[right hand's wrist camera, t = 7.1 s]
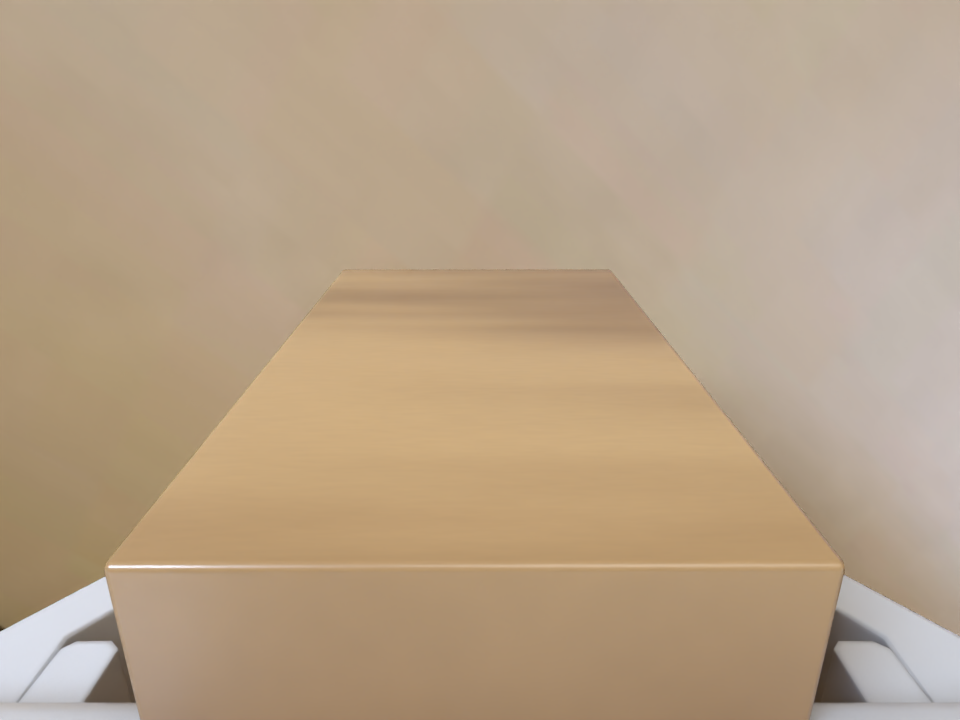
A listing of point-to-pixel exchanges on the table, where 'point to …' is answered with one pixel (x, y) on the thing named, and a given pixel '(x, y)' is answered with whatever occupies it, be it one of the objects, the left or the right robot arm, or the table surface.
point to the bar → (475, 525)
